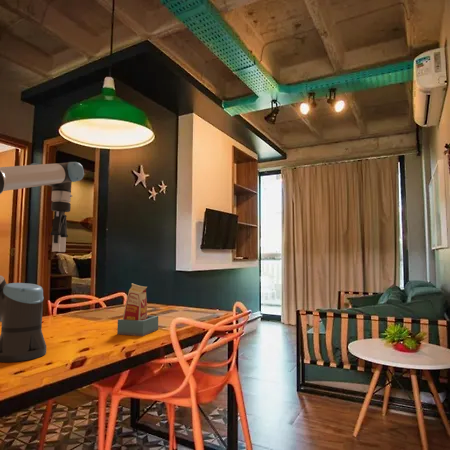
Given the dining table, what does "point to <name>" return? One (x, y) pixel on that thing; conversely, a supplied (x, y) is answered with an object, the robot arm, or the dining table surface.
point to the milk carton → (136, 304)
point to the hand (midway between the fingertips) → (58, 251)
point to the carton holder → (137, 326)
